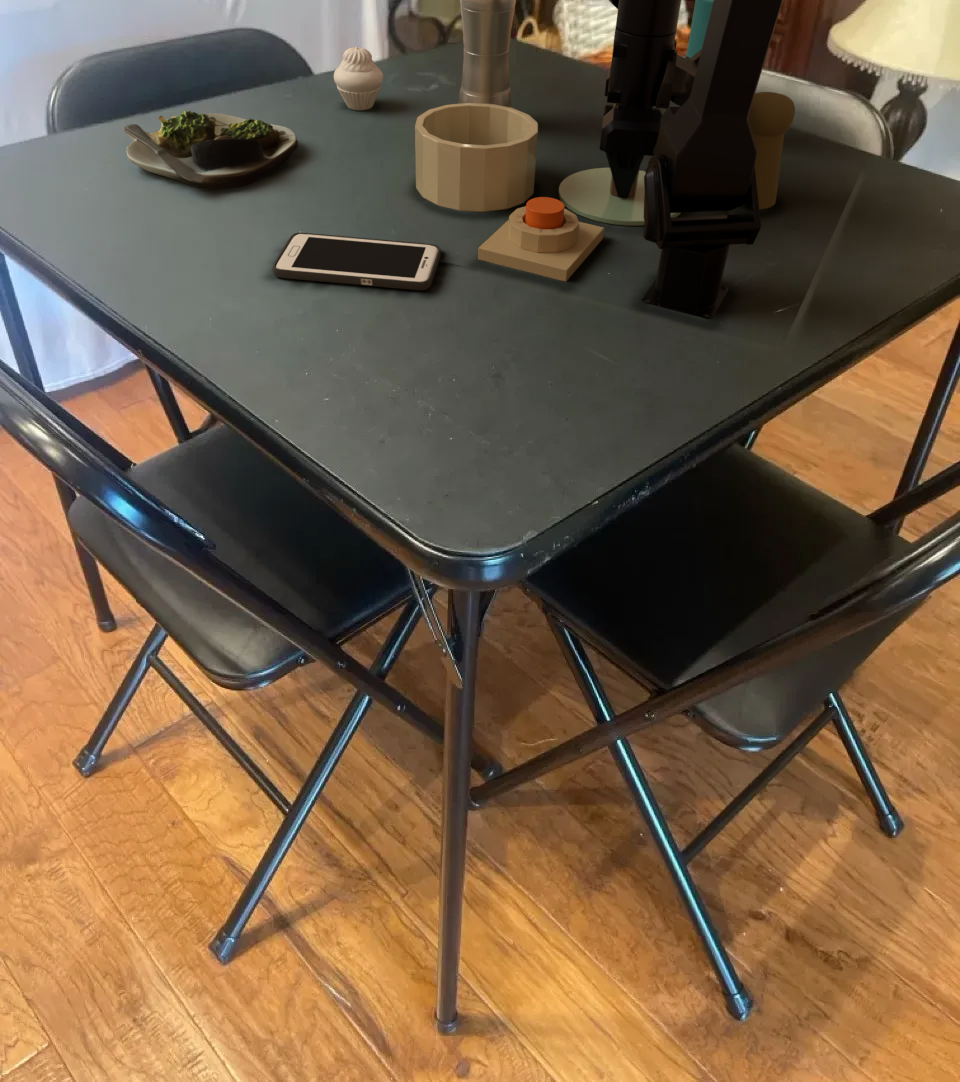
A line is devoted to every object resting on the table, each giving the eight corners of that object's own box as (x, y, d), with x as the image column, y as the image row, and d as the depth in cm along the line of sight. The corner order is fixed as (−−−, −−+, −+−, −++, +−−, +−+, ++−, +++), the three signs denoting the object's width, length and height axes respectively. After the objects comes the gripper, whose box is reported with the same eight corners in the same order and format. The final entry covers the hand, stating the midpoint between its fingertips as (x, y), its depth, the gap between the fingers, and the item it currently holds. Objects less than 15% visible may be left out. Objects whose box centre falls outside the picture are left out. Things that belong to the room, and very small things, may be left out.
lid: (663, 242, 92) (672, 187, 88) (538, 213, 96) (542, 159, 92) (699, 193, 101) (710, 141, 97) (584, 168, 105) (590, 117, 101)
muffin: (335, 97, 119) (331, 38, 114) (383, 97, 120) (381, 38, 115) (335, 115, 115) (331, 54, 110) (385, 114, 115) (382, 54, 110)
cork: (776, 217, 97) (804, 108, 90) (718, 210, 98) (741, 102, 90) (774, 194, 102) (801, 88, 94) (719, 188, 102) (741, 82, 95)
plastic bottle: (520, 126, 114) (531, -63, 100) (491, 143, 110) (499, -53, 96) (476, 115, 116) (482, -72, 102) (446, 131, 112) (448, -62, 98)
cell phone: (293, 240, 90) (292, 231, 89) (442, 254, 89) (442, 244, 88) (270, 278, 84) (269, 268, 83) (429, 293, 83) (429, 283, 82)
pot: (503, 226, 94) (507, 156, 89) (395, 200, 97) (393, 132, 93) (550, 182, 102) (556, 116, 97) (449, 159, 106) (450, 95, 101)
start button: (554, 234, 86) (556, 216, 84) (519, 226, 87) (520, 208, 86) (568, 219, 88) (570, 201, 87) (534, 211, 89) (535, 193, 88)
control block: (565, 287, 85) (569, 251, 83) (477, 264, 88) (478, 229, 85) (602, 243, 92) (606, 209, 89) (519, 223, 94) (522, 190, 92)
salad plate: (78, 166, 101) (66, 122, 98) (185, 116, 113) (178, 76, 110) (220, 205, 95) (212, 160, 92) (317, 148, 107) (314, 106, 104)
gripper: (739, 65, 80) (703, 236, 90) (725, 8, 93) (695, 163, 104) (610, 55, 80) (590, 226, 91) (615, 0, 94) (597, 155, 105)
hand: (623, 190), depth 98 cm, fingers closed on lid, 3 cm apart
